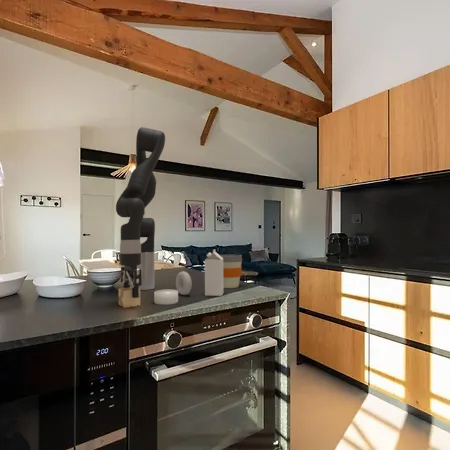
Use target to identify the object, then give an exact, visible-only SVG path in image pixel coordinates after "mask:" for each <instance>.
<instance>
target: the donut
mask: <svg viewBox="0 0 450 450" xmlns="http://www.w3.org/2000/svg"><path fill="white" fill-rule="evenodd" d="M175 277H176V278H175V287H176V290H177V291H178V294H179V295H181V296H187V295H189V294H190V292H191V289H192V285H193V283H192V282H193V281H192V277H191V275H190V274H189V273H188V272H187V271H184V270H183V271H180V272H179V273H178V274H177V275H176V276H175Z"/></svg>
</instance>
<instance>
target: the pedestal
mask: <svg viewBox="0 0 450 450" xmlns="http://www.w3.org/2000/svg"><path fill="white" fill-rule="evenodd" d="M153 293H154V294H153V295H154V297H153V299H154V301H153V303H154V304H155V305H174V304H175V305H176V304H177V303H179V292H178V291H177V289H167V288H165V289H159V290H155V291H154V292H153Z"/></svg>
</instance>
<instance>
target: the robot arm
mask: <svg viewBox="0 0 450 450" xmlns="http://www.w3.org/2000/svg"><path fill="white" fill-rule="evenodd" d="M165 135H166V134H165V133H164V132H163V131H162V130H158V129H153V128H148V127H140V128H138V130H137V133H136V140H135V141H136V143H135V148H136V149H135V151H136V153H135V156H136V157H135V161H136V162H135V164H136V165H135V168H134V169H133V170H132V172H131V174H130V178H129V180H128V183H127V186H126V187H125V188H124V190H123V191H122V193H121V194H120V196H119V198H118V199H117V200H116V201H117V202H116V203H115V212H116V213H117V215H118V216H119V217H121V218H128V221H127V223H123V224H122V225H121V226H120V243H119V264H120V282H121V284H122V285H123V287H122V288H130V287H132V297H133V298H138V297H139V289H140V291H145V290H146V291H148V290H153V289H155V234H156V233H155V231H156V223H155V220H154V218H152V217H144V215H145V212H146V211H145V209H146V208H147V206H148V205H149V204H151V202H152V200H153V199H155V195H156V189H157V179H156V177H155V174H154V172H153V171H154V169H155V168H156V165H157V164H158V161H159V159H160V157H161V155H162V154H163V150H164V148H165V145H166V136H165ZM146 152H149V153H151V154H149V156H148V157H147V153H146ZM141 238H146V240H145V241H144V242H142V243H141Z"/></svg>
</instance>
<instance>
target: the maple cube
mask: <svg viewBox="0 0 450 450" xmlns="http://www.w3.org/2000/svg"><path fill="white" fill-rule="evenodd" d="M118 305H119V306H121V307H123V308H130V307H131V306H132V307H138V306H137V305H139V306H141V290H140V289H139V297H138V298H133V297H132V286H130V288H123V287H121V288H118Z"/></svg>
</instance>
